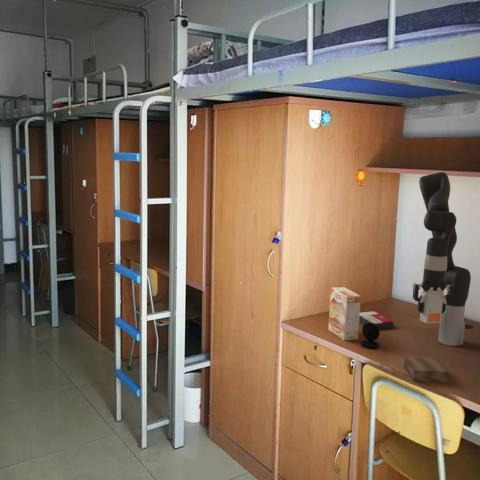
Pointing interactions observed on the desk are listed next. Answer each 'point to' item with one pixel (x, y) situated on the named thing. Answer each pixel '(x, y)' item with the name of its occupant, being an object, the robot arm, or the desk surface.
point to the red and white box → (375, 320)
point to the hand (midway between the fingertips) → (430, 312)
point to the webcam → (370, 335)
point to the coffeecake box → (344, 313)
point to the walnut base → (426, 369)
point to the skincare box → (432, 307)
